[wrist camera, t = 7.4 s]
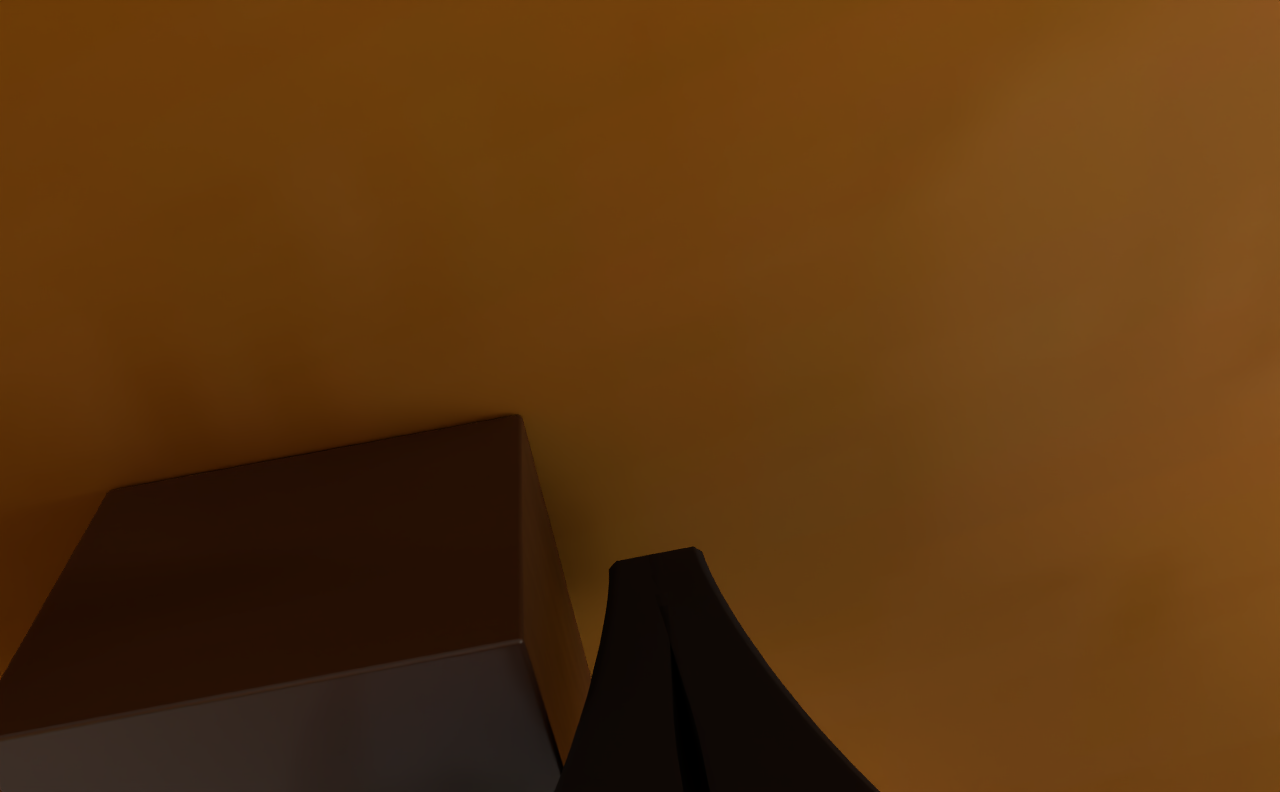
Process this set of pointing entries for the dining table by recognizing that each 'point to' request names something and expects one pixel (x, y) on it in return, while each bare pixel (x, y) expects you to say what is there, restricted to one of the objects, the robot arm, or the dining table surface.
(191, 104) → the dining table surface
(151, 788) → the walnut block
